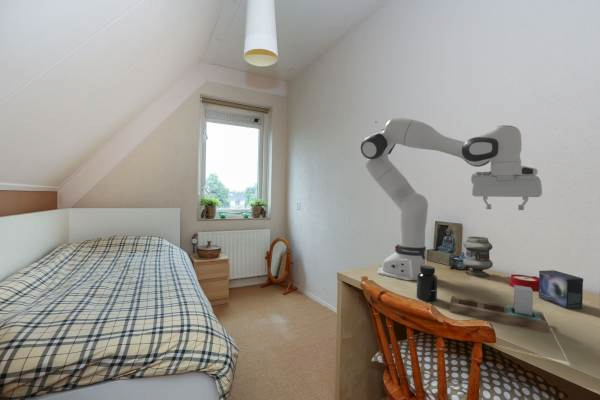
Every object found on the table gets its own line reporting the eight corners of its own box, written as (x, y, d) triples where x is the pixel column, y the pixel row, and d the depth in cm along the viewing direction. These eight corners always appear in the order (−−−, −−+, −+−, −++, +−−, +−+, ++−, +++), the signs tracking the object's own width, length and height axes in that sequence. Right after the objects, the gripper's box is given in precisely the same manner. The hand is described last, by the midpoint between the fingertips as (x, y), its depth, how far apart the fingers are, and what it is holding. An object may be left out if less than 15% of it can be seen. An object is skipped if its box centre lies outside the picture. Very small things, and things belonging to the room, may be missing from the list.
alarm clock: (501, 274, 124) (539, 268, 121) (504, 288, 124) (542, 283, 120) (514, 281, 114) (556, 275, 110) (517, 296, 113) (559, 291, 110)
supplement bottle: (435, 305, 97) (436, 270, 96) (414, 300, 100) (415, 267, 100) (438, 298, 103) (438, 266, 102) (418, 295, 106) (418, 263, 106)
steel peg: (514, 322, 83) (515, 288, 83) (513, 317, 86) (514, 285, 86) (532, 325, 81) (533, 291, 80) (529, 320, 84) (530, 287, 84)
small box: (536, 297, 105) (537, 270, 105) (552, 297, 105) (553, 269, 105) (566, 309, 94) (566, 278, 94) (583, 308, 95) (584, 278, 95)
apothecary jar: (458, 270, 142) (458, 235, 141) (482, 271, 141) (483, 235, 141) (471, 277, 130) (472, 239, 129) (498, 278, 129) (499, 239, 128)
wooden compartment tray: (449, 313, 90) (449, 303, 90) (451, 304, 98) (451, 294, 97) (547, 334, 77) (547, 322, 77) (541, 321, 84) (542, 311, 84)
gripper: (471, 171, 104) (470, 208, 104) (543, 169, 92) (542, 211, 93) (471, 172, 109) (471, 208, 109) (540, 170, 98) (539, 210, 98)
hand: (504, 209), depth 101 cm, fingers open, 8 cm apart
